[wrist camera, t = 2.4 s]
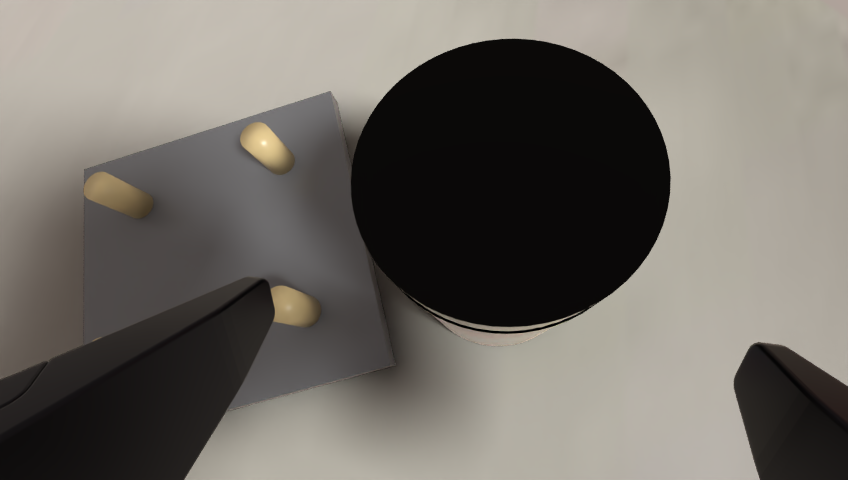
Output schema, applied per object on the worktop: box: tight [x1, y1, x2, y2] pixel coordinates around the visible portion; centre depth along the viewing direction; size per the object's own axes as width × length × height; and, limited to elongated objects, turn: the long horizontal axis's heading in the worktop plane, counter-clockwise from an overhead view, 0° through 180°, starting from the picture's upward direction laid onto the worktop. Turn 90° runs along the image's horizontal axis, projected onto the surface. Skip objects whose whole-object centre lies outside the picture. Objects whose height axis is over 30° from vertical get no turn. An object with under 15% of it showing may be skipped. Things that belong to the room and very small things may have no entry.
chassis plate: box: [84, 91, 396, 411], centre depth 19 cm, size 14×14×4 cm
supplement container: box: [351, 39, 671, 346], centre depth 14 cm, size 7×7×10 cm
